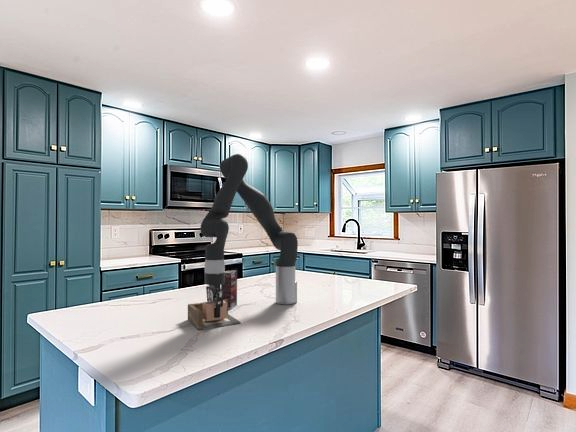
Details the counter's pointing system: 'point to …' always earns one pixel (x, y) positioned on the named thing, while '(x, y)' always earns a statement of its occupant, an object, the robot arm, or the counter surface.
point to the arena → (197, 320)
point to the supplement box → (230, 288)
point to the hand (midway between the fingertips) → (214, 315)
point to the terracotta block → (209, 311)
